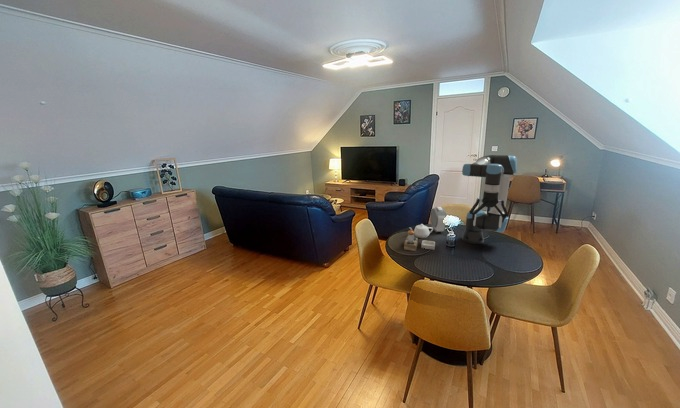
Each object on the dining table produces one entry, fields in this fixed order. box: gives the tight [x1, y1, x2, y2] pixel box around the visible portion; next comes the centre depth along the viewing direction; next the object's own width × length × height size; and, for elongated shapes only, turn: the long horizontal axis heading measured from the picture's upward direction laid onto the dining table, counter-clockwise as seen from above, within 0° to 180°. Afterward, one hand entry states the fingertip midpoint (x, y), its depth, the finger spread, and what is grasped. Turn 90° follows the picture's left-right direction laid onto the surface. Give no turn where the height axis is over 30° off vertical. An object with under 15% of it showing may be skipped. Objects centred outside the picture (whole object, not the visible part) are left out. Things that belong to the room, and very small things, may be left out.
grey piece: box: [429, 206, 447, 233], centre depth 228 cm, size 18×8×20 cm, turn 179°
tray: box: [420, 239, 436, 251], centre depth 201 cm, size 9×9×2 cm
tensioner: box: [403, 235, 419, 252], centre depth 201 cm, size 14×8×7 cm, turn 159°
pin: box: [407, 229, 415, 244], centre depth 197 cm, size 4×4×13 cm
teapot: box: [409, 223, 434, 239], centre depth 219 cm, size 20×12×10 cm, turn 96°
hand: (486, 226), depth 163 cm, fingers open, 13 cm apart
